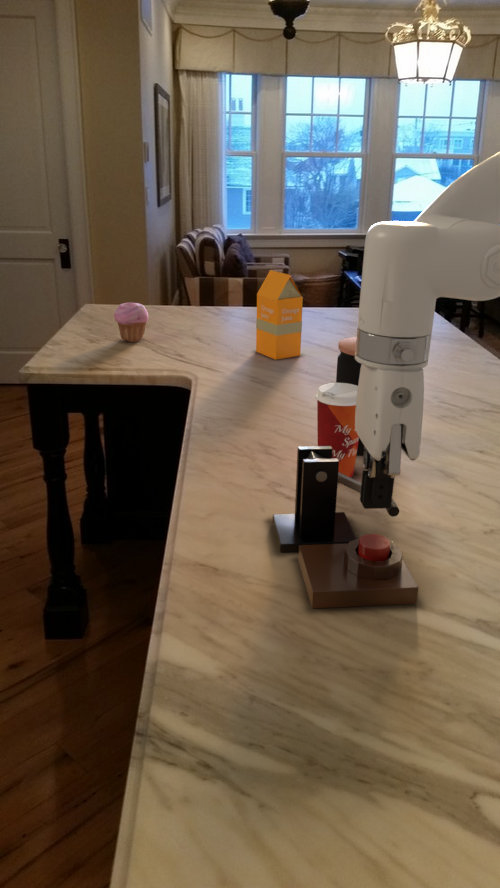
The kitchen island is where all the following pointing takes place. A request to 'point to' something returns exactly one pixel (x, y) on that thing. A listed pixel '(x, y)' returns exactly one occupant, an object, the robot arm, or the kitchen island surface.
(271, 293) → the orange juice
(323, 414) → the paper cup
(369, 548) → the button
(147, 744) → the kitchen island surface
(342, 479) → the tap lever
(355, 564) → the button block
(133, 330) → the cupcake
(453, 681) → the kitchen island surface
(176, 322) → the kitchen island surface
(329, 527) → the bracket
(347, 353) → the coffee jar
